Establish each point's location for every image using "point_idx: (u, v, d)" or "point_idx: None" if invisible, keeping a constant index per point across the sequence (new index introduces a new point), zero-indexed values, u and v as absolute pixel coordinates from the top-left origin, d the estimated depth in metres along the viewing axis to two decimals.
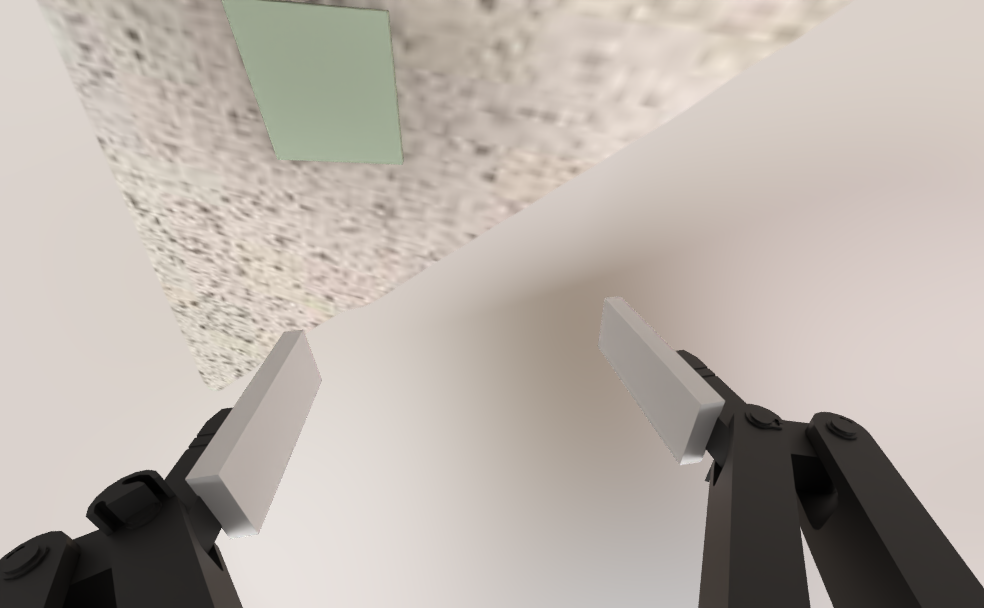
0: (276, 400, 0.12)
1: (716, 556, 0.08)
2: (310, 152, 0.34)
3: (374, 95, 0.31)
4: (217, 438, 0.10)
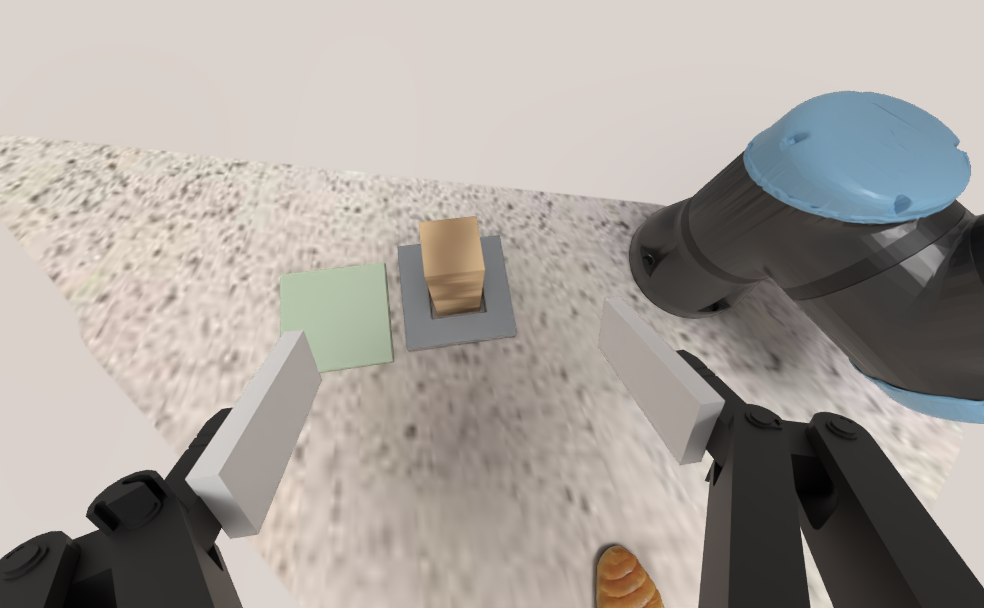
0: (275, 400, 0.12)
1: (716, 556, 0.08)
2: (287, 300, 0.40)
3: (337, 352, 0.39)
4: (217, 438, 0.10)
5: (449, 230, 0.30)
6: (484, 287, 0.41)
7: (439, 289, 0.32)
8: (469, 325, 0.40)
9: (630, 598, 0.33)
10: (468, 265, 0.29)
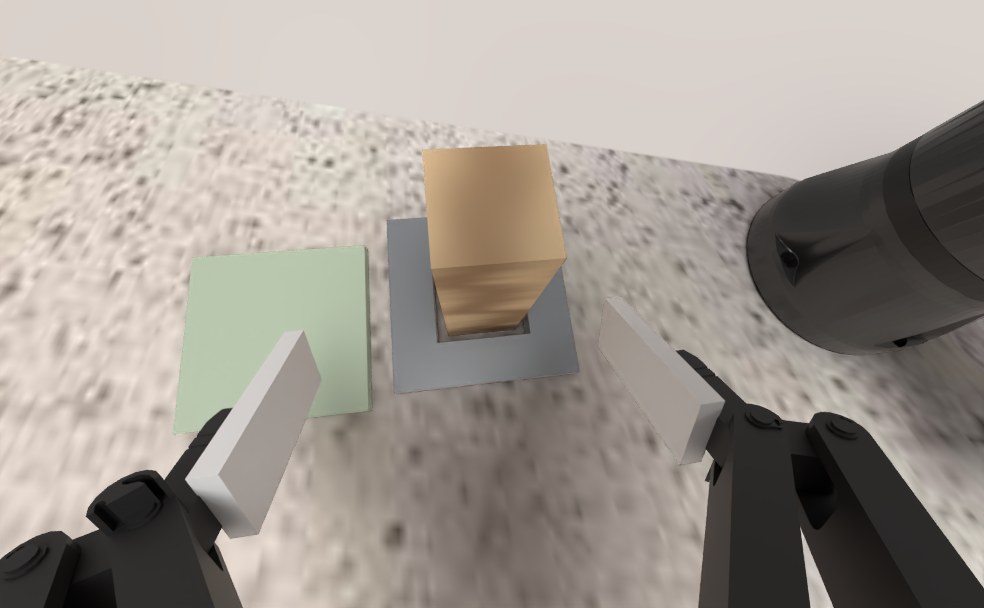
0: (276, 400, 0.12)
1: (716, 556, 0.08)
2: (200, 300, 0.24)
3: None
4: (217, 438, 0.10)
5: (488, 169, 0.14)
6: None
7: (458, 297, 0.16)
8: (500, 355, 0.24)
9: None
10: (529, 246, 0.13)
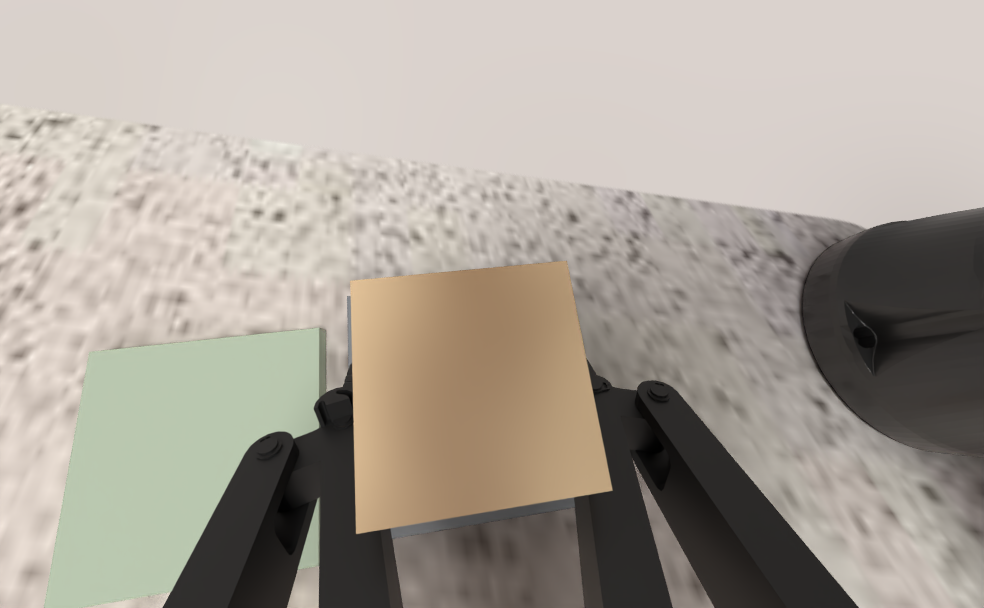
0: None
1: (584, 527, 0.08)
2: (95, 412, 0.18)
3: (193, 544, 0.17)
4: None
5: (466, 314, 0.08)
6: None
7: None
8: None
9: None
10: (543, 469, 0.07)
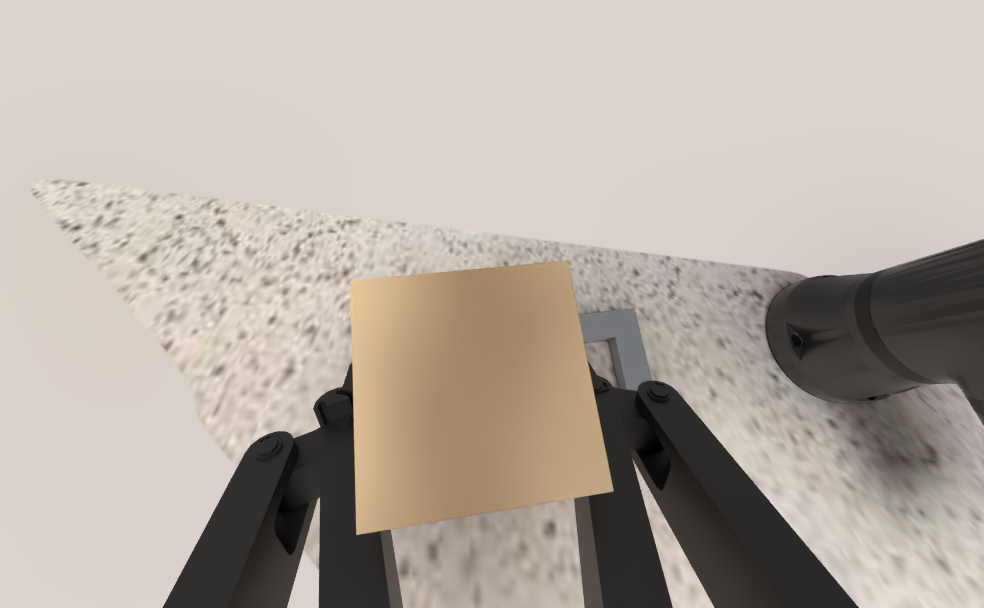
0: None
1: (585, 527, 0.08)
2: None
3: None
4: None
5: (467, 314, 0.08)
6: (623, 368, 0.38)
7: None
8: None
9: None
10: (544, 470, 0.07)
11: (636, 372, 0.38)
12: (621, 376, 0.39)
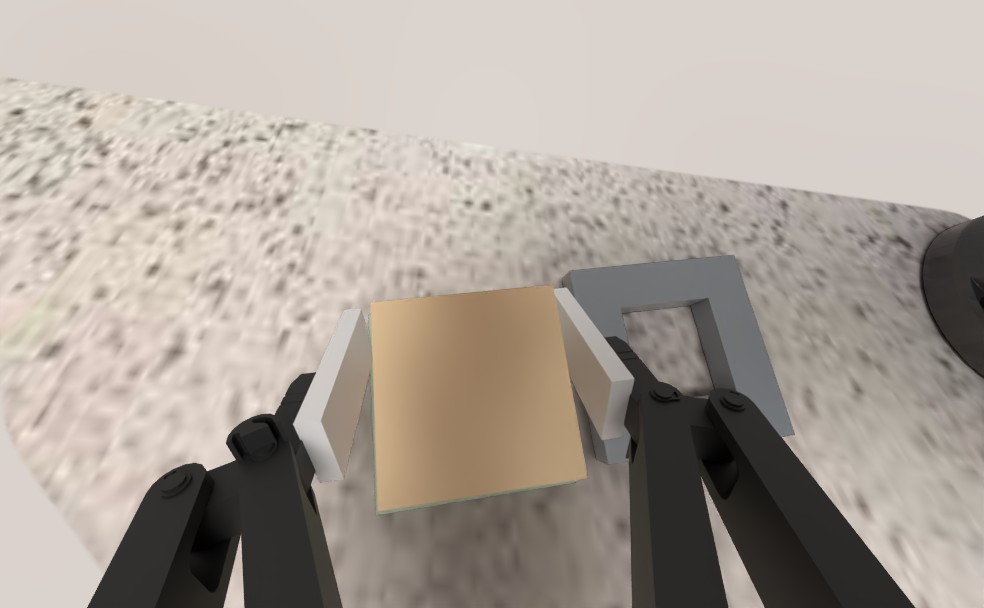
0: (348, 366, 0.13)
1: (640, 532, 0.08)
2: None
3: None
4: (311, 393, 0.11)
5: (468, 330, 0.09)
6: (725, 347, 0.23)
7: None
8: None
9: None
10: (530, 461, 0.08)
11: (746, 354, 0.23)
12: (720, 360, 0.24)
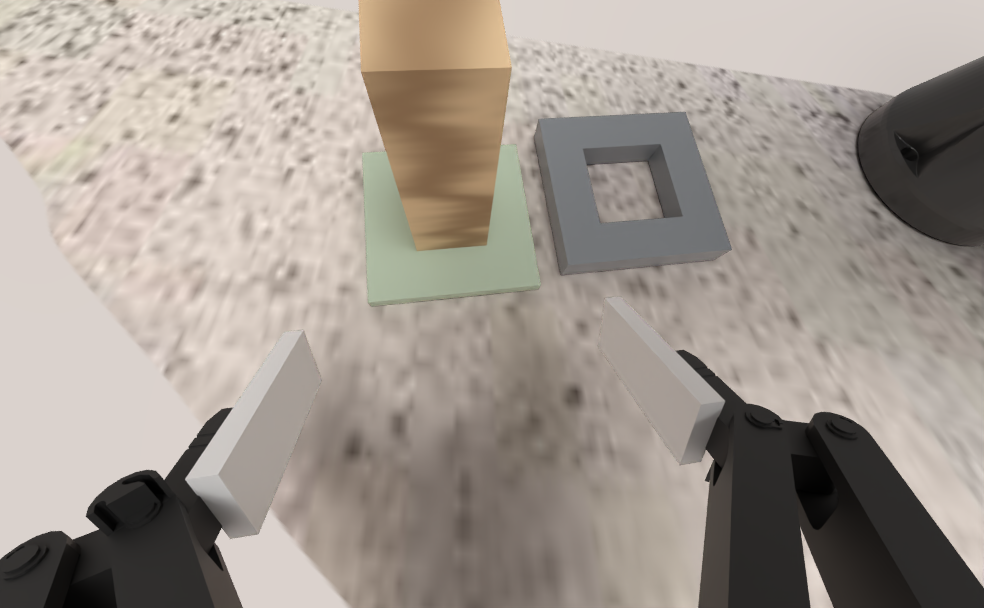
0: (276, 400, 0.12)
1: (716, 556, 0.08)
2: (375, 189, 0.26)
3: (455, 268, 0.25)
4: (217, 438, 0.10)
5: None
6: (673, 181, 0.27)
7: (407, 152, 0.15)
8: (659, 234, 0.26)
9: None
10: (470, 55, 0.12)
11: (692, 187, 0.27)
12: (670, 196, 0.27)
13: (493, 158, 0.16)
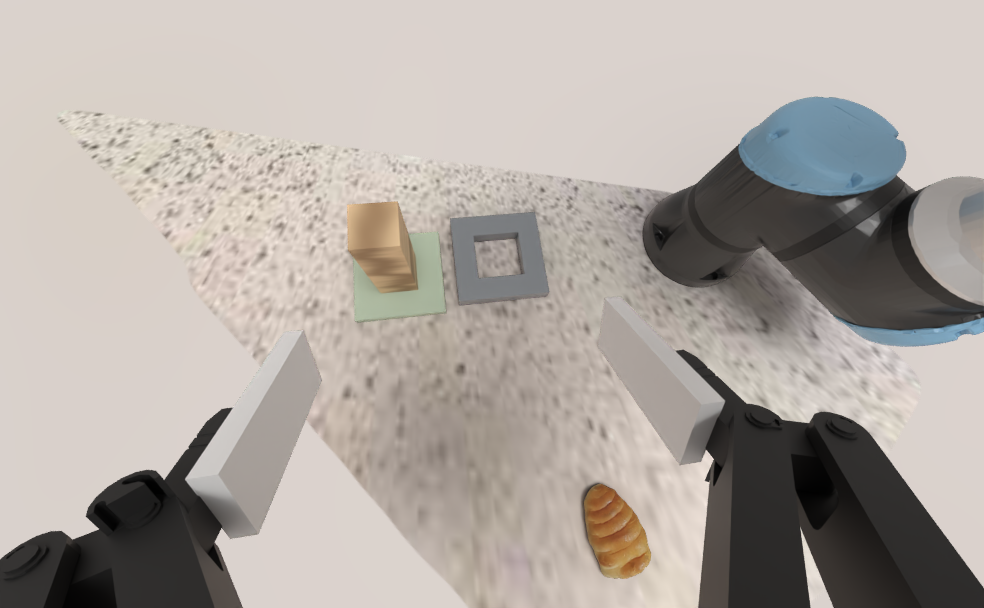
0: (276, 400, 0.12)
1: (716, 556, 0.08)
2: None
3: (401, 302, 0.47)
4: (217, 438, 0.10)
5: (372, 212, 0.35)
6: (522, 254, 0.49)
7: (368, 264, 0.38)
8: (510, 284, 0.48)
9: (612, 521, 0.40)
10: (386, 241, 0.34)
11: (532, 257, 0.49)
12: (521, 261, 0.50)
13: (405, 263, 0.39)
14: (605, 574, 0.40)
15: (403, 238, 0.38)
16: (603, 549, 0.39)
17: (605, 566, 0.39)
